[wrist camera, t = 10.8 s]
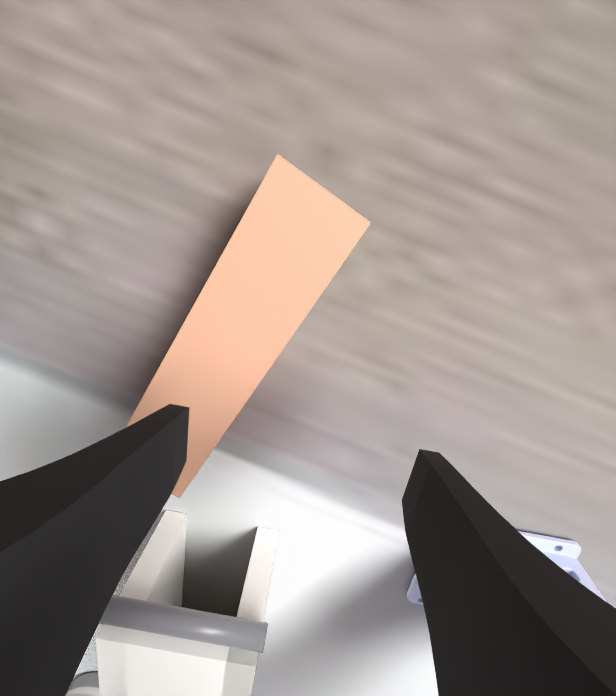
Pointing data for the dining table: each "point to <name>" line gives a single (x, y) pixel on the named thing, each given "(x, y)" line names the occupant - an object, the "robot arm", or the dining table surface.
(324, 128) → the dining table surface
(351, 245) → the orange long block
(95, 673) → the travel mug
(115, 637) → the dispenser
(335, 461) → the dining table surface
